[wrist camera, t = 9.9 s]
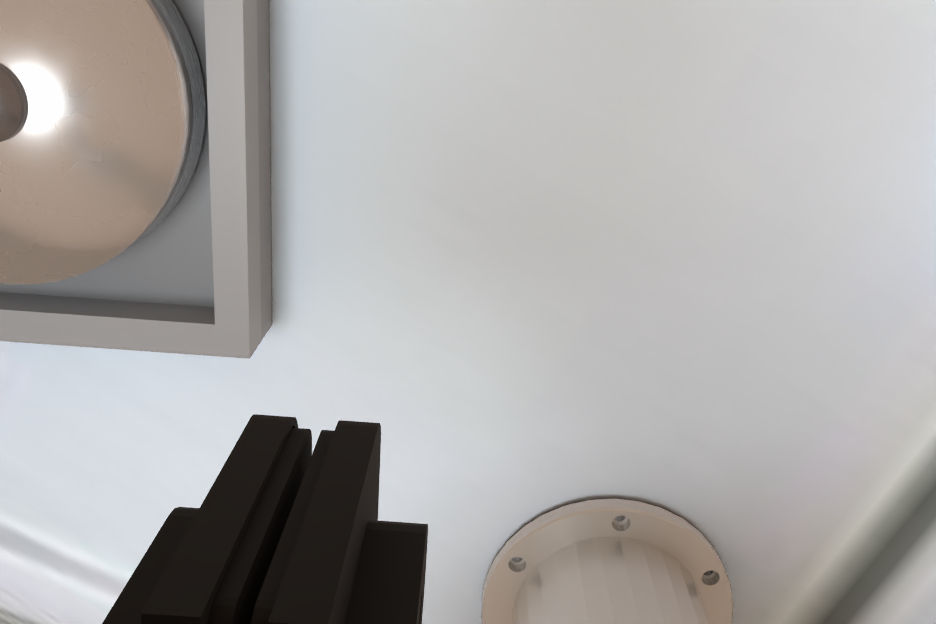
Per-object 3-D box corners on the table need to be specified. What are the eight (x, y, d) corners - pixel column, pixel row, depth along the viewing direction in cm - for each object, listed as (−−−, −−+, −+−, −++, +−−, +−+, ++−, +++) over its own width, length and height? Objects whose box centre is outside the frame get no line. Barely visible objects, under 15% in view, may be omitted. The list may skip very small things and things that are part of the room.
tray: (271, 324, 40) (247, 361, 36) (-121, 296, 40) (-190, 330, 36) (267, -167, 33) (236, -190, 29) (-207, -201, 33) (-304, -230, 29)
